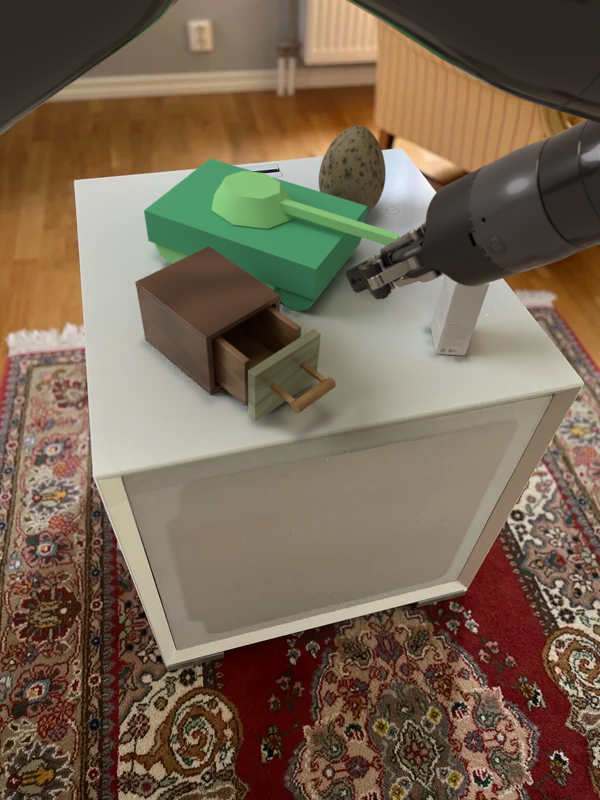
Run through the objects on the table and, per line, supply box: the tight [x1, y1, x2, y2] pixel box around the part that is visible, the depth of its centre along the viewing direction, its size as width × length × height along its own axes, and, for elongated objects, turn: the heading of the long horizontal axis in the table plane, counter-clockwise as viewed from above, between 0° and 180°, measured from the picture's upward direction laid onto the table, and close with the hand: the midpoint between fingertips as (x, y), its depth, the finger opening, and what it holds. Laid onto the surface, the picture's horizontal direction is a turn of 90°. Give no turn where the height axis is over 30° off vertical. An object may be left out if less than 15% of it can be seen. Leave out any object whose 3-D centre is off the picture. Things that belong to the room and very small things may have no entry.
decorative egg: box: [318, 124, 387, 214], centre depth 103 cm, size 11×11×15 cm
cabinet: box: [134, 246, 281, 396], centre depth 81 cm, size 14×12×10 cm
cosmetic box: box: [430, 274, 490, 356], centre depth 83 cm, size 6×4×12 cm
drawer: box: [212, 306, 337, 423], centre depth 76 cm, size 17×10×8 cm, turn 45°
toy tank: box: [143, 158, 401, 312], centre depth 93 cm, size 18×12×35 cm
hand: (354, 279), depth 57 cm, fingers closed
